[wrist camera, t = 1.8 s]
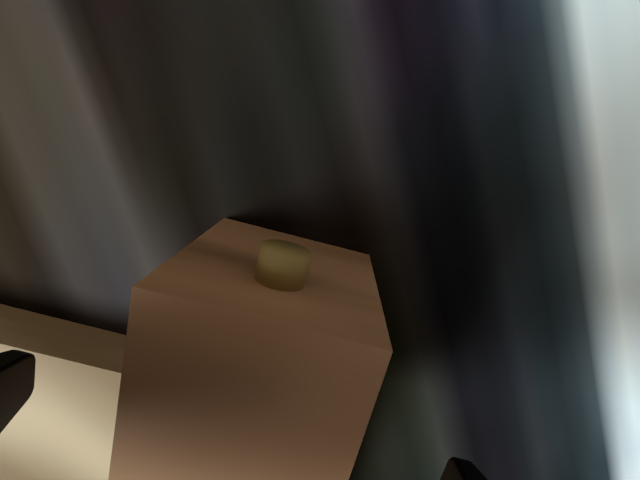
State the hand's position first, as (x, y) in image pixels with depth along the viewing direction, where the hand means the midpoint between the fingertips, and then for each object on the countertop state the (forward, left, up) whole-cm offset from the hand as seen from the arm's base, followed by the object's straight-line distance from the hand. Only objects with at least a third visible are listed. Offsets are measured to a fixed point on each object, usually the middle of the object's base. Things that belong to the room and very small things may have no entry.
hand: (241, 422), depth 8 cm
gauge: (-4, 0, -6) cm, 7 cm away
